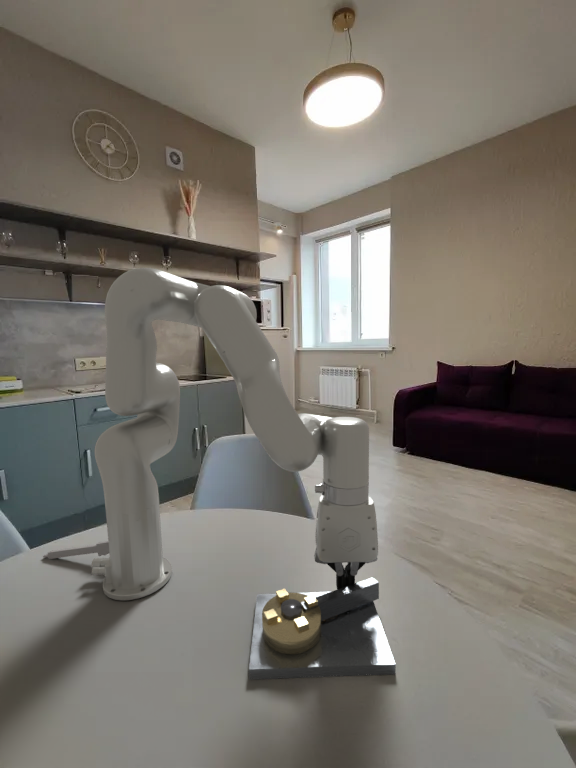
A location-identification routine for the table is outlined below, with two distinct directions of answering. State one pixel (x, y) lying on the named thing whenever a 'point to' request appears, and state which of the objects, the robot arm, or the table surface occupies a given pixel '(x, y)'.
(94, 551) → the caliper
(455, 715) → the table surface
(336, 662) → the base plate
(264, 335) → the robot arm
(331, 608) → the gold disc with handle
